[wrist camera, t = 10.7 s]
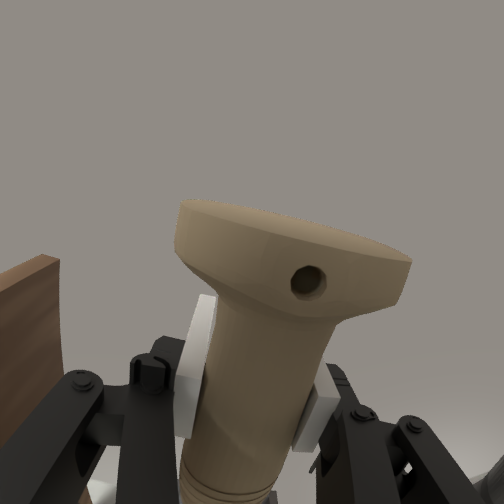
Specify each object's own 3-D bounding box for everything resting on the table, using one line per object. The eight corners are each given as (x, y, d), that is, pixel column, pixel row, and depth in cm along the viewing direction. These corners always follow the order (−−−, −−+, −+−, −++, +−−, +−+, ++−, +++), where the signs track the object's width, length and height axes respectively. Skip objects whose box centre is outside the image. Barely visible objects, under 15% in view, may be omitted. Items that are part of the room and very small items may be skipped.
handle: (158, 471, 14) (197, 195, 11) (269, 489, 14) (371, 237, 11) (142, 537, 9) (158, 208, 6) (274, 555, 10) (443, 275, 6)
